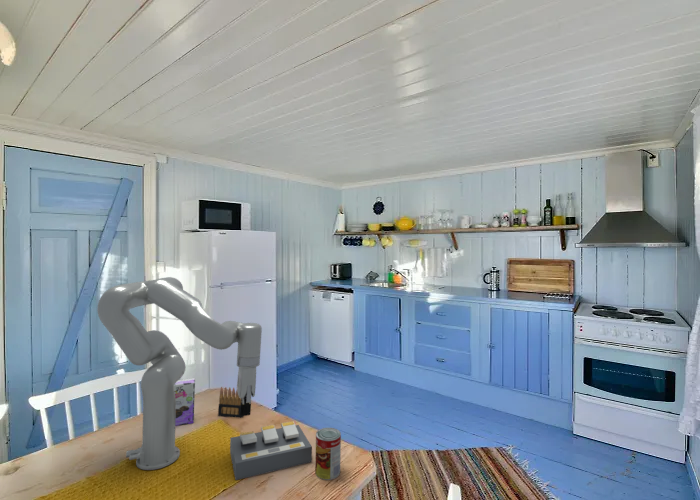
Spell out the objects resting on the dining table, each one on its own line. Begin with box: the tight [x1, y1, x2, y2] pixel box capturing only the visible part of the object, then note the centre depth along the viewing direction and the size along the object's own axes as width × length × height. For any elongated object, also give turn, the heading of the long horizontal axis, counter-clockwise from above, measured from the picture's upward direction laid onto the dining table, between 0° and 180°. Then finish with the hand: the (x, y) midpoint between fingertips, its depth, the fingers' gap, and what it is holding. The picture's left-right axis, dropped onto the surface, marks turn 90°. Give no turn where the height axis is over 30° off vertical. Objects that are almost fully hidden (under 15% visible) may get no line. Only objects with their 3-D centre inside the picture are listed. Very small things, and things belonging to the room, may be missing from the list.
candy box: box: [174, 377, 196, 427], centre depth 140 cm, size 14×6×16 cm, turn 112°
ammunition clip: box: [217, 386, 244, 419], centre depth 146 cm, size 11×2×12 cm, turn 83°
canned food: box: [314, 427, 342, 481], centre depth 110 cm, size 8×8×12 cm
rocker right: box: [280, 420, 299, 439], centre depth 121 cm, size 4×7×1 cm, turn 24°
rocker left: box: [239, 431, 257, 444], centre depth 116 cm, size 4×7×1 cm, turn 24°
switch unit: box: [229, 424, 313, 481], centre depth 117 cm, size 24×16×6 cm, turn 114°
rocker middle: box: [260, 424, 278, 444], centre depth 119 cm, size 4×7×1 cm, turn 24°
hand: (245, 414), depth 118 cm, fingers closed
